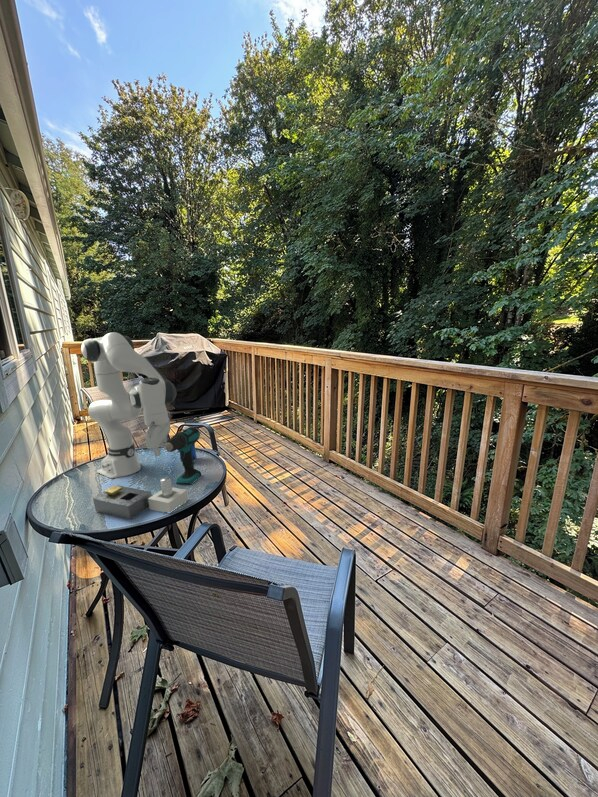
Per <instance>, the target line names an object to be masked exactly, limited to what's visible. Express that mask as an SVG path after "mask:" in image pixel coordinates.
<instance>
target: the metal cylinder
mask: <svg viewBox="0 0 598 797" xmlns="http://www.w3.org/2000/svg"><path fill="white" fill-rule="evenodd" d="M159 482H160V489H161V490H162V495H163V498H166V499H169V498H170V497H172V496H173V493H172V487H173V486H172V481H171V477H170V476H164V477H162V478H160V480H159Z"/></svg>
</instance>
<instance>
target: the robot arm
mask: <svg viewBox="0 0 598 797" xmlns="http://www.w3.org/2000/svg"><path fill="white" fill-rule="evenodd" d="M134 345H135V344H134V342H133V340H132V338H131V337H129V336H128V335H122V334H121V333H119V332H115V331H114V332H109V333H106V334H105V335H104V336H101V337H95V338H88V339H84V340H83V341H82V342H81V348H80V351H81V354H82V356H83V358H84V359H85V360H86V361H88V362H92V363H93V368H94V369H93V370H94V375H95V378H96V379H95V380H96V386H97V389H98V390H99V391H100V392H101V393H103V394H105V395H106V396H107V397H108V398H109V399H100V400H95V401H92V402H91V403H90V404H89V406H88V410H87V412H88V416H89V417H90V419H91V420H93V421H95V422H96V423H98V425H100V427H101V428H102V429H103V431H104V432H105V434H106V437H107V440H108V441H107V442H108V446H109V447H107V448H106V451H108V452H107V453H108V454H107V455H106V456H105V457H104V458H103V459H102V460H101V462H100V468H99V469H97V470H96V473H97V472H98V473H97V474H99V473H100V474H99V475H101V474H102V475H101V476H103V475H104V476H103V477H107V478H109V479H116V478H119V477H127V476H130V475H132V474H135V473H136V472H139V471H140V470H141V465H142V462H141V461H140V460H139V456H138V453H137V451H136V445H135V443H134V441H133V435H132V431H131V428H129V427H128V426H126V425H124V424H123V423H122V422H123V421H131V420H135V419H138V418H139V417H140V416H141V413H143V422H144V425H145V426H147V428H146V430H145V443H146V448H147V449H148V450H152V451H153V452H154V456H155V457H160V455H161V449H159V447H160V445H161V448H165V447H166V446H167V441H168V435H169V434H170V432H171V423H170V421H171V420H170V417H171V413H170V411H168V409H167V407H166V405H167V404H168V405H169V404H172V403H173V402H174V400H175V399H176V397H177V395H178V394H177V388H176V386H175V385H174V383H172V381H170V380H169V379H167V377H165V375H163V373H162V372H161V371H160V370H159V369H158V368H157V366H155V364H154V363H153V362H152V361H151V360H150V359H149V358H148V357H146V356H144V355H141V354H140V353H138V352H136V351H135V347H134ZM121 372H123V373H134V374H141V375H144V376H146V378H143V379H141V380H140V381H139V382H138V384H137V385H135V386H132V387H131V388H130V390H129V392H128V391H127V390H126V388H125V386H124V382H123V378H122V374H121ZM142 410H143V412H142ZM121 421H122V422H121Z"/></svg>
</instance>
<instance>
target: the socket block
mask: <svg viewBox="0 0 598 797" xmlns="http://www.w3.org/2000/svg"><path fill="white" fill-rule="evenodd" d="M116 486H119V487H122V488H123V489H122V490H121V491H119V492H120V493H118V494H116V495H114V496H110V495H108V494H106V493H104V492H102V493H100V494H98V495H97V496H95V497H92V500H93V504H94V505H93V506H94V511H95V512H96V511H98V512H99V513H101V514H106V515H110V516H113V517H118V518H122V519H126V520H129V521H131V520H132V519H134V518H135V517H137V516H138V515H140V514H141V513H143V512H144V511H146V510H147V509H150V508H149V502H148V498H150V497H151V496H153V493H152V491H149V490H145V489H144V490H142V489H139V488H134V487H129V486H124V485H119V484H117V485H116ZM98 512H97V513H98Z"/></svg>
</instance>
